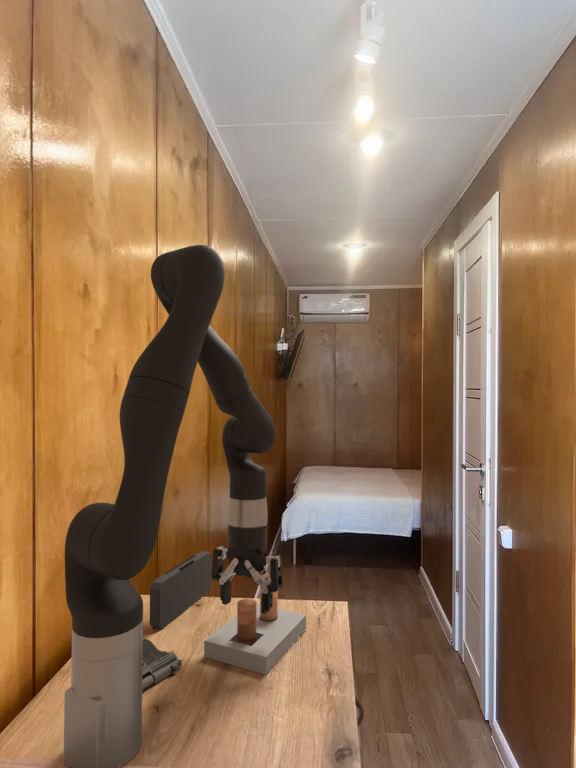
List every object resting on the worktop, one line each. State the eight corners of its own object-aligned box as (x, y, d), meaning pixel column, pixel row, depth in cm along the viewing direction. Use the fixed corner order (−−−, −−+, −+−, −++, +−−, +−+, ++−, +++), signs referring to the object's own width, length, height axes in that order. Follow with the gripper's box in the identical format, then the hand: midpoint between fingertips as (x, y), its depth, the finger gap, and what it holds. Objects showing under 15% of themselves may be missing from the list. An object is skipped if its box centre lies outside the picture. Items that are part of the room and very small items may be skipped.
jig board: (265, 674, 84) (266, 619, 84) (204, 657, 89) (204, 605, 89) (306, 629, 100) (306, 583, 100) (252, 616, 105) (252, 573, 106)
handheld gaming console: (202, 588, 121) (202, 549, 121) (211, 590, 120) (212, 550, 120) (147, 630, 99) (148, 582, 100) (159, 632, 98) (159, 583, 99)
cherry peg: (250, 660, 88) (250, 608, 88) (233, 655, 90) (233, 604, 90) (259, 651, 91) (260, 600, 92) (243, 646, 93) (243, 597, 93)
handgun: (61, 679, 79) (108, 704, 72) (145, 636, 93) (190, 653, 87) (61, 695, 79) (108, 721, 72) (145, 649, 93) (190, 667, 87)
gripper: (204, 520, 91) (202, 607, 90) (271, 530, 85) (270, 623, 84) (226, 512, 98) (224, 593, 97) (289, 521, 91) (288, 607, 91)
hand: (245, 607), depth 90 cm, fingers open, 8 cm apart
